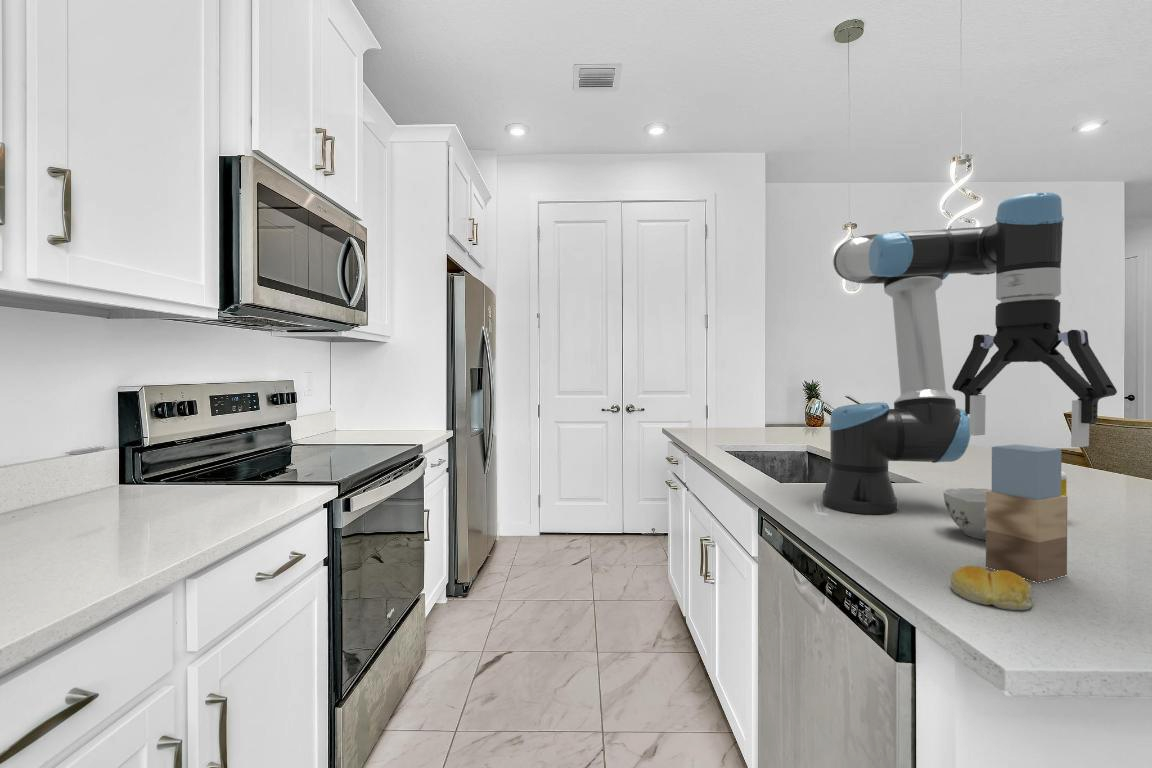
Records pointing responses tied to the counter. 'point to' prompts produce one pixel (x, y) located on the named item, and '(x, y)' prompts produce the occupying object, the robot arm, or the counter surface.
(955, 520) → the teacup
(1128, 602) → the counter surface
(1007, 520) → the tower mid
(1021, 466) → the slate block
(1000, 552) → the tower base
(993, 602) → the bread roll
